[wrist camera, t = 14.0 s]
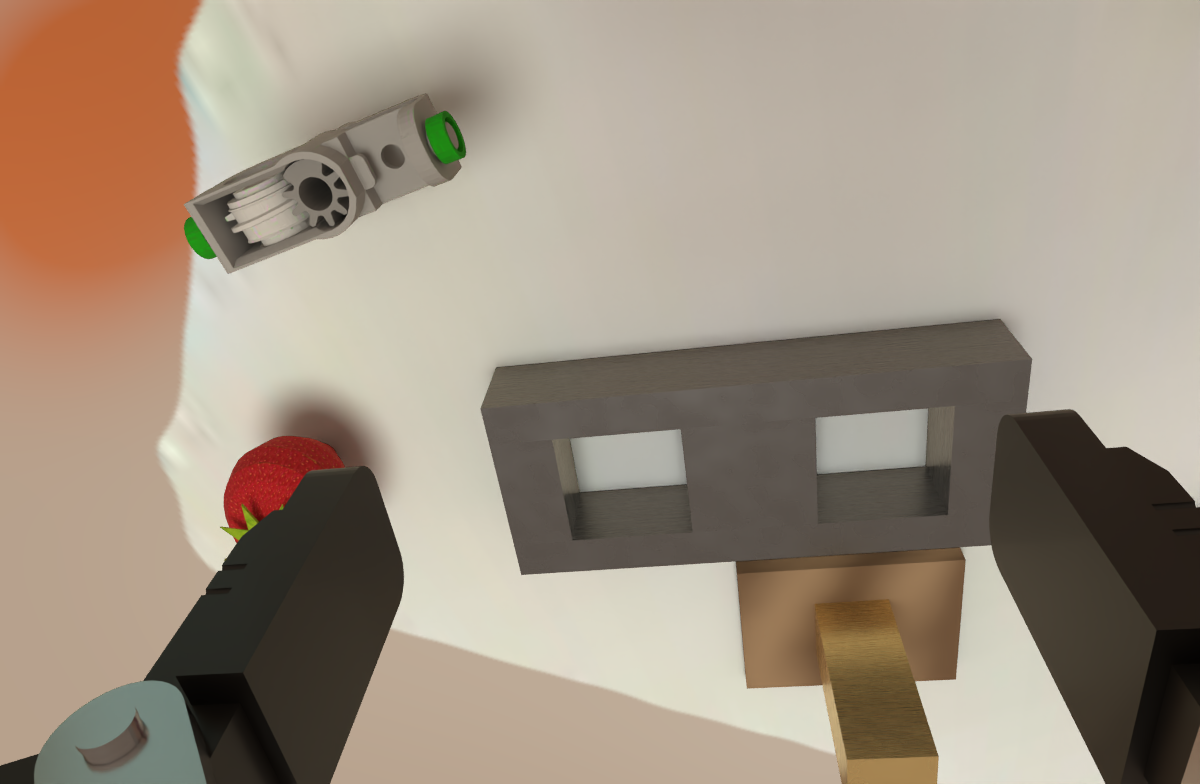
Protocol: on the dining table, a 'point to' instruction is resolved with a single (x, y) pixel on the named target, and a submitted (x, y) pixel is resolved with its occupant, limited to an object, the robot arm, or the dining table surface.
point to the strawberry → (271, 478)
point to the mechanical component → (324, 184)
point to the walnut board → (793, 586)
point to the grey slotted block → (755, 448)
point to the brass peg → (872, 696)
